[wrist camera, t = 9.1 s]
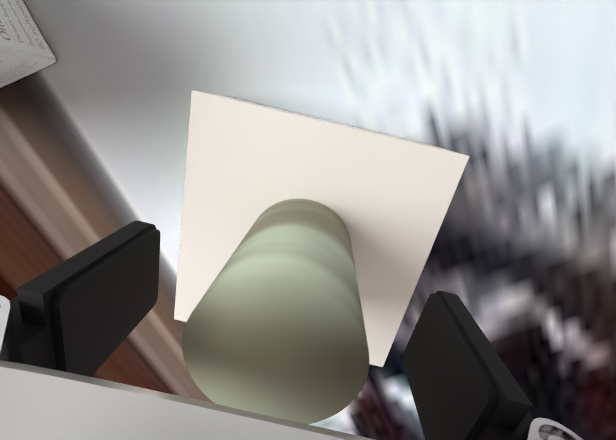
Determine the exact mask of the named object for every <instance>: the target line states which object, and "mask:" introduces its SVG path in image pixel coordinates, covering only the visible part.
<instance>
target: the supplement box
mask: <svg viewBox="0 0 616 440" xmlns="http://www.w3.org/2000/svg"><path fill="white" fill-rule="evenodd" d="M55 62H56V59H55V57H54V55H53V53H52V52H51V50H50V48H49V47H48V45H47V43H46V42H45V40H44V38H43V37H42V35H41V33H40V31H39V30H38V28H37V26H36V24H35V22H34V21H33V19H32V17H31V15H30V13H29V12H28V10H27V8H26V6H25V4H24V2H23V1H22V0H0V88H1V87H3V86H6V85H8V84H10V83H13V82H15V81H17V80H19V79H21V78H23V77H26V76H28V75H30V74H32V73H34V72H36V71H38V70H41V69H43V68H45V67H47V66H49V65H51V64H53V63H55Z"/></svg>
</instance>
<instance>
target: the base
mask: <svg viewBox="0 0 616 440" xmlns="http://www.w3.org/2000/svg"><path fill="white" fill-rule="evenodd" d="M468 159H469V156H467V155H463V154H460V153H457V152H453V151H450V150H447V149H443V148H440V147H437V146H432V145H428V144H424V143H420V142H416V141H411V140H407V139H403V138H399V137H395V136H390V135H386V134H382V133H378V132H374V131H369V130H365V129H361V128H357V127H353V126H348V125H344V124H340V123H336V122H332V121H327V120H323V119H319V118H315V117H311V116H307V115H302V114H298V113H294V112H290V111H286V110H281V109H277V108H273V107H269V106H265V105H260V104H256V103H252V102H248V101H244V100H239V99H235V98H231V97H227V96H222V95H217V94H211V93H205V92H200V91H194V90H192V91H191V104H190V117H189V130H188V143H187V156H186V169H185V182H184V196H183V209H182V222H181V235H180V248H179V261H178V274H177V287H176V300H175V313H174V319H176V320H181V321H185V322H187V320H188V318H189V317H190V315H191V313H192V311H193V310H194V309H195V307H196V306H197V304H198V303H199V301H200V300H201V299H202V297H203V296H204V294H205V293H206V291H207V290H208V288H209V287H210V286H211V284H212V283H213V281H214V280H215V278H216V277H217V276H218V274H219V273H220V271H221V270H222V268H223V267H224V266H225V264H226V263H227V261H228V260H229V258H230V257H231V255H232V254H233V253H234V251H235V250H236V248H237V247H238V245H239V244H240V243H241V241H242V240H243V238H244V237H245V235H246V234H247V233H248V231H249V230H250V228H251V227H252V225H253V224H254V222H255V221H256V220H257V218H258V217H259V216H260V215H261V214H262V213H263V212H264V211H265V210H266V209H267V208H269V207H270V206H272V205H274V204H276V203H278V202H281V201H283V200H288V199H308V200H313V201H316V202H319V203H321V204H323V205H325V206H327V207H328V208H330V209H331V210H333V211H334V212H335V213H336V214H337V215H338V216H339V217H340V218H341V219H342V221H343V222H344V224H345V226H346V227H347V230H348V232H349V235H350V240H351V245H352V252H353V258H354V264H355V270H356V276H357V282H358V288H359V294H360V300H361V307H362V313H363V319H364V325H365V331H366V337H367V343H368V349H369V364H372V365H376V366H381V367H383V365H384V362H385V360H386V358H387V355H388V353H389V350H390V348H391V345H392V343H393V341H394V338H395V336H396V333H397V331H398V328H399V326H400V324H401V321H402V319H403V316H404V314H405V311H406V309H407V307H408V304H409V302H410V299H411V297H412V294H413V292H414V290H415V287H416V285H417V282H418V280H419V277H420V275H421V273H422V270H423V268H424V265H425V263H426V261H427V258H428V256H429V253H430V251H431V248H432V246H433V244H434V241H435V239H436V236H437V234H438V231H439V229H440V227H441V224H442V222H443V219H444V217H445V214H446V212H447V210H448V207H449V205H450V202H451V200H452V197H453V195H454V193H455V190H456V188H457V185H458V183H459V180H460V178H461V176H462V173H463V171H464V168H465V166H466V163H467V161H468Z"/></svg>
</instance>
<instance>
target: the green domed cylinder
mask: <svg viewBox="0 0 616 440" xmlns="http://www.w3.org/2000/svg"><path fill="white" fill-rule="evenodd" d="M182 350H183V356H184V360H185V364H186V367H187V369H188V371H189V373H190V375H191V377H192V379H193V380H194V382H195V383H196V385H197V386H198V387H199V388H200V389H201V391H202V392H203V393H204V394H205V395H206V396H207V397H208V398H209V399H210V400H212V401H213V402H214V403H216V404H218V405H222V406H227V407H231V408H236V409H240V410H245V411H249V412H254V413H258V414H263V415H267V416H272V417H276V418H281V419H285V420H290V421H294V422H299V423H303V424H311V423H315V422H318V421H322V420H324V419H327V418H329V417H331V416H333V415H335V414H337V413H338V412H340V411H341V410H343V409H344V408H345V407H347V406H348V405H349V404H350V403H351V402H352V401H353V400H354V399H355V398H356V397H357V395H358V394H359V392H360V391H361V389H362V387H363V385H364V383H365V381H366V378H367V375H368V370H369V349H368V343H367V337H366V331H365V325H364V319H363V313H362V307H361V300H360V294H359V288H358V282H357V276H356V270H355V264H354V258H353V252H352V245H351V240H350V235H349V232H348V230H347V227H346V226H345V224H344V222H343V221H342V219H341V218H340V217H339V216H338V215H337V214H336V213H335V212H334V211H333V210H331V209H330V208H328V207H327V206H325V205H323V204H321V203H319V202H316V201H313V200H308V199H288V200H283V201H281V202H278V203H276V204H274V205H272V206H270V207H269V208H267V209H266V210H265V211H264V212H263V213H262V214H261V215H260V216H259V217H258V218H257V220H256V221H255V222H254V224H253V225H252V227H251V228H250V230H249V231H248V233H247V234H246V235H245V237H244V238H243V240H242V241H241V243H240V244H239V245H238V247H237V248H236V250H235V251H234V253H233V254H232V255H231V257H230V258H229V260H228V261H227V263H226V264H225V266H224V267H223V268H222V270H221V271H220V273H219V274H218V276H217V277H216V278H215V280H214V281H213V283H212V284H211V286H210V287H209V288H208V290H207V291H206V293H205V294H204V296H203V297H202V299H201V300H200V301H199V303H198V304H197V306H196V307H195V309H194V310H193V311H192V313H191V315H190V317H189V318H188V320H187V323H186V326H185V328H184V333H183V338H182Z"/></svg>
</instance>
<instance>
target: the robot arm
mask: <svg viewBox="0 0 616 440" xmlns="http://www.w3.org/2000/svg"><path fill="white" fill-rule="evenodd" d="M159 254H160V231H159V230H156V227H155V225H153V224H149V223H145V222H141V221H133V222H132V223H130V224H128V225H126V226H125V227H123V228H121V229H119V230H118V231H116V232H114V233H113V234H111V235H109V236H107V237H106V238H104V239H102V240H100V241H99V242H97V243H95V244H93V245H92V246H90V247H88V248H86V249H85V250H83V251H81V252H80V253H78V254H76V255H74V256H73V257H71V258H69V259H67V260H66V261H64V262H62V263H60V264H59V265H57V266H55V267H53V268H52V269H50V270H48V271H47V272H45V273H43V274H41V275H40V276H38V277H36V278H34V279H33V280H31V281H29V282H27V283H26V284H24V285H22V286H20V287H19V288H17V294H18V296H16V297H15V298H13V299H11V300H10V301H9V300H8V299H6V298H5V297H3V296H0V440H373V439H369V438H365V437H360V436H356V435H352V434H347V433H343V432H339V431H334V430H330V429H325V428H321V427H316V426H312V425H308V424H303V423H299V422H294V421H290V420H285V419H281V418H276V417H272V416H267V415H263V414H258V413H254V412H249V411H245V410H240V409H236V408H231V407H227V406H222V405H218V404H213V403H209V402H204V401H200V400H195V399H190V398H186V397H181V396H177V395H172V394H167V393H163V392H158V391H153V390H149V389H144V388H140V387H135V386H130V385H126V384H121V383H117V382H112V381H107V380H103V379H98V378H93V377H91V376H92V375H93V374H94V373H95V372H96V371H97V370H98V368H99V367H100V366H101V365H102V364H103V363H104V362H105V361H106V359H107V358H108V357H109V356H110V355H111V354H112V353H113V352H114V350H115V349H116V348H117V347H118V346H119V345H120V344H121V343H122V341H123V340H124V339H125V338H126V337H127V336H128V335H129V334H130V332H131V331H132V330H133V329H134V328H135V327H136V326H137V325H138V323H139V322H140V321H141V320H142V319H143V318H144V317H145V316H146V314H147V313H148V312H149V311H150V310H151V309H152V308H153V306H154V305H155V303H156V301H157V298H158V279H159ZM403 364H404V367H405V371H406V374H407V378H408V381H409V385H410V388H411V391H412V395H413V398H414V402H415V405H416V409H417V412H418V416H419V419H420V423H421V426H422V430H423V433H424V436H425V440H583V439H581V438H580V437H579V436H577V435H576V434H575V433H573V432H572V431H571V430H569V429H568V428H566V427H564V426H563V425H561V424H559V423H557V422H554V421H552V420H549V419H545V418H537V419H534V420H533V418H532V416H531V415H530V413H529V410H530V409H531V408H532V406H533V405H532V404H531V402H530V401H529V399H528V398H527V396H526V395H525V393H524V392H523V390H522V389H521V387H520V386H519V385H518V383H517V382H516V380H515V379H514V377H513V376H512V374H511V373H510V371H509V370H508V368H507V367H506V366H505V364H504V363H503V361H502V360H501V358H500V357H499V355H498V354H497V352H496V351H495V349H494V348H493V347H492V345H491V344H490V342H489V341H488V339H487V338H486V336H485V335H484V333H483V332H482V330H481V329H480V328H479V326H478V325H477V323H476V322H475V320H474V319H473V317H472V316H471V314H470V313H469V311H468V310H467V309H466V307H465V306H464V304H463V303H462V301H461V300H460V298H459V297H458V296H457V295H456V294H452V293H448V292H443V291H437V292H436V293H435V294H433V293H432V294H431V295H430V296H429V298H428V300H427V302H426V304H425V307H424V309H423V311H422V313H421V316H420V318H419V320H418V322H417V324H416V327H415V329H414V331H413V333H412V336H411V338H410V340H409V342H408V344H407V347H406V349H405V351H404V355H403Z"/></svg>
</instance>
